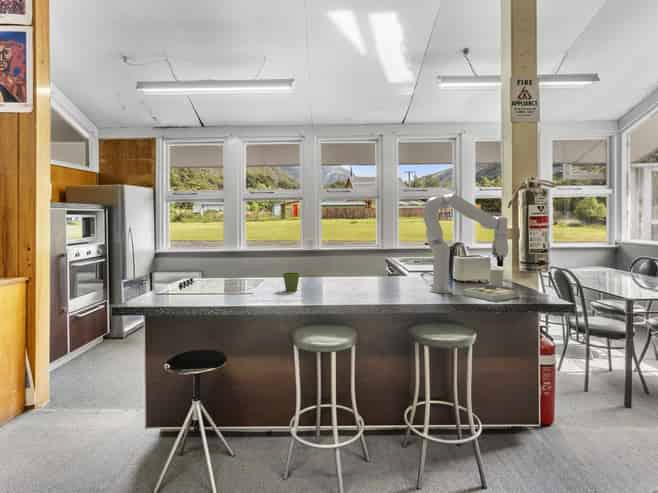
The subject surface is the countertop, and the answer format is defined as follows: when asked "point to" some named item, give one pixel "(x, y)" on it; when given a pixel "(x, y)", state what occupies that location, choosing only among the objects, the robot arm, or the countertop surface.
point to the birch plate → (498, 292)
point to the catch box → (483, 295)
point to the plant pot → (291, 280)
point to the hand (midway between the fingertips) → (500, 266)
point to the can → (496, 277)
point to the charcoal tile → (490, 286)
